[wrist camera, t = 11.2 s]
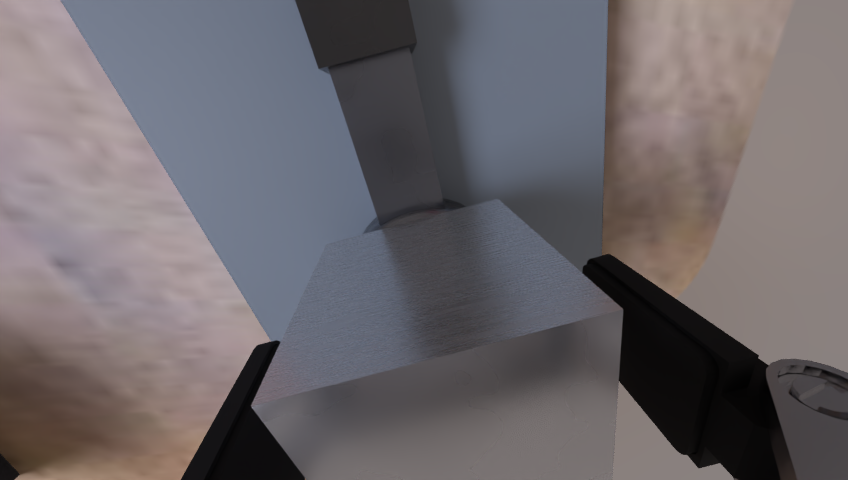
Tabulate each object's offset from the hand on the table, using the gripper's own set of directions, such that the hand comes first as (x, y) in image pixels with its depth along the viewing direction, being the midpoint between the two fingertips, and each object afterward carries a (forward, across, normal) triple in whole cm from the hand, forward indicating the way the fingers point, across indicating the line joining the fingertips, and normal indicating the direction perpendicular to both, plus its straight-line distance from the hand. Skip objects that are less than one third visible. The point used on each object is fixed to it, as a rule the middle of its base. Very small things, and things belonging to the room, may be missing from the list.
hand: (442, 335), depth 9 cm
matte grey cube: (+2, 0, 0) cm, 2 cm away
